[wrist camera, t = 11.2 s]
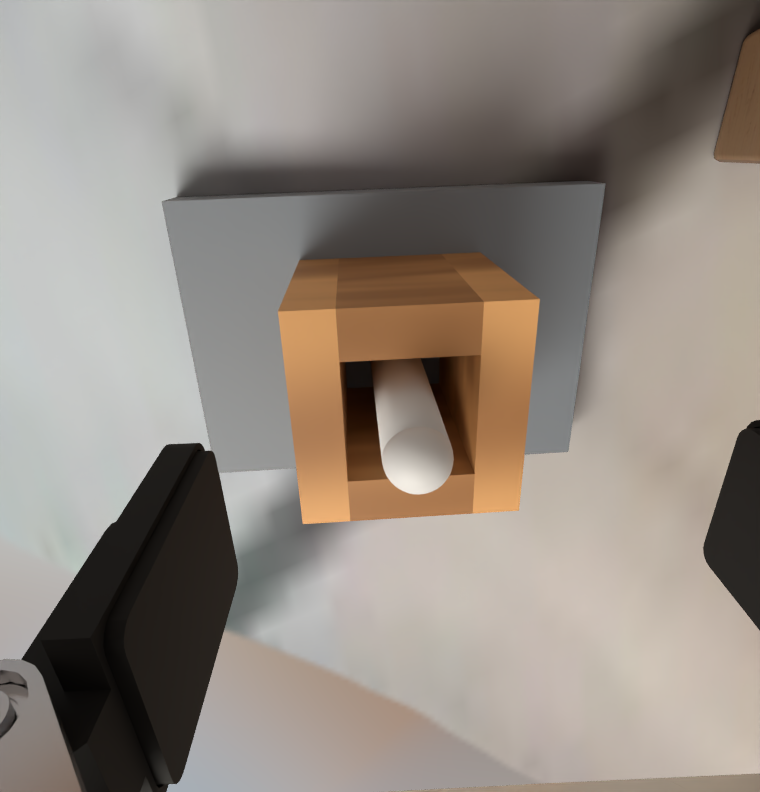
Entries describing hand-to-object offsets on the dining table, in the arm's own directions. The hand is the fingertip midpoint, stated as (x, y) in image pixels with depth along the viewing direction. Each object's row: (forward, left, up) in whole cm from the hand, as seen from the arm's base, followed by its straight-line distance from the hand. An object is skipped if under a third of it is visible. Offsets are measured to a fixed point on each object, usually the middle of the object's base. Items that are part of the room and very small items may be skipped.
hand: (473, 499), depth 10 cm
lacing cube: (0, -1, -10) cm, 10 cm away
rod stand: (0, -1, -11) cm, 11 cm away
